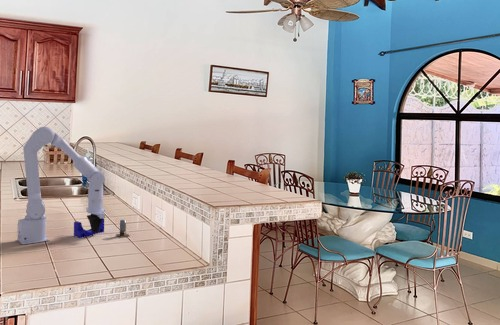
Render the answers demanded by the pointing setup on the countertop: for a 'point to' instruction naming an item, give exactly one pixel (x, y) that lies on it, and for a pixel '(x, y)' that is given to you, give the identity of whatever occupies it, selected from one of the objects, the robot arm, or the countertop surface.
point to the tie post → (122, 229)
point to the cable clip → (81, 232)
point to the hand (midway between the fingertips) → (95, 232)
